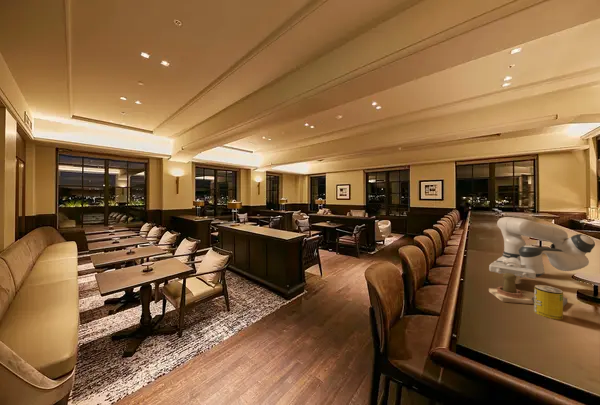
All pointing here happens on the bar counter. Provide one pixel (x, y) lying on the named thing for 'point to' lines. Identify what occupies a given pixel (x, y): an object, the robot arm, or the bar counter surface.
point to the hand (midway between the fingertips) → (510, 274)
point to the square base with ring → (510, 296)
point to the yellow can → (548, 302)
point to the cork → (509, 283)
